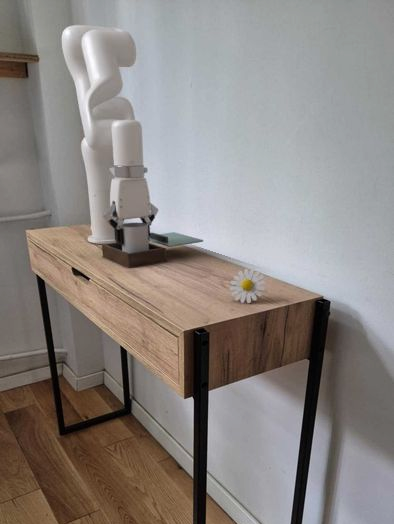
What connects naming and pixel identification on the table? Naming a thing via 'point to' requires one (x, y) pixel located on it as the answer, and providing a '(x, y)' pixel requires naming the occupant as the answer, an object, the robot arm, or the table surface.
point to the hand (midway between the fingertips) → (133, 241)
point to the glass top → (173, 239)
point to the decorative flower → (247, 285)
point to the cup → (135, 237)
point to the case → (133, 255)
